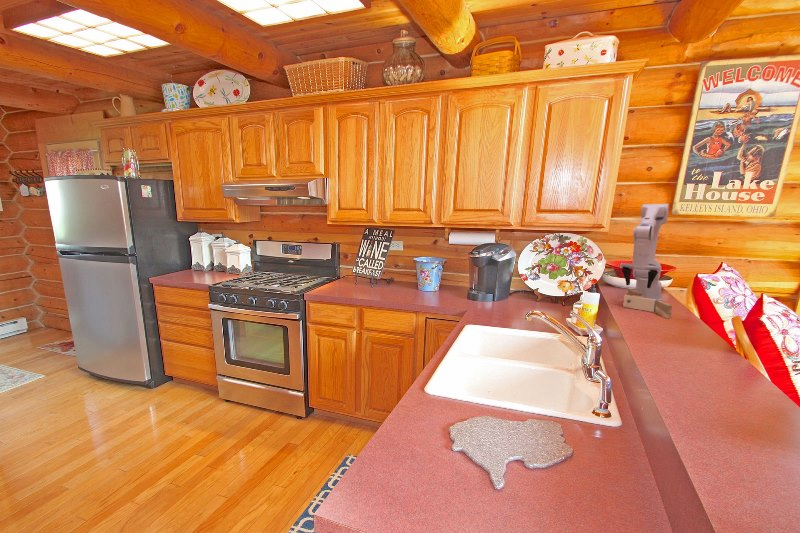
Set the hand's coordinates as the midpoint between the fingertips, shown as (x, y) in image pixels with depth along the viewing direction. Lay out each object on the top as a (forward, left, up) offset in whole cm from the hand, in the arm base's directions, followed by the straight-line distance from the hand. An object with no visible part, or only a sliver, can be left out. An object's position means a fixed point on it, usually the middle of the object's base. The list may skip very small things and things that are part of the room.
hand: (638, 286), depth 150 cm
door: (+1, +5, -9) cm, 10 cm away
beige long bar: (-3, +3, -9) cm, 10 cm away
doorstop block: (0, 0, -9) cm, 9 cm away
